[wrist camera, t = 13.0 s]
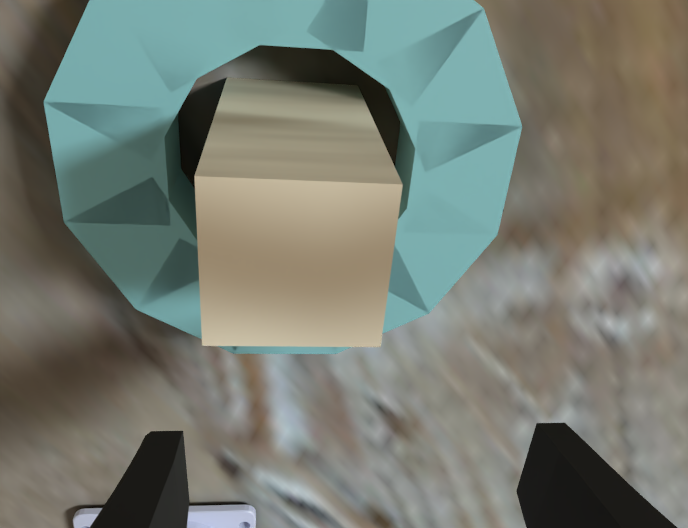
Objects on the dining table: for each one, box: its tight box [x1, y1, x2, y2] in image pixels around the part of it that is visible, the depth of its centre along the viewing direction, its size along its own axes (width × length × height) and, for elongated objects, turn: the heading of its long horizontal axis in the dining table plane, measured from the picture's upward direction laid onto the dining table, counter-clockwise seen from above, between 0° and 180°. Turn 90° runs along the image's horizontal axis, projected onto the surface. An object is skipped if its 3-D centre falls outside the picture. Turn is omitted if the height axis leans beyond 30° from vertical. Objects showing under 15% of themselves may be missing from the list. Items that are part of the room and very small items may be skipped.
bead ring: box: [43, 0, 522, 354], centre depth 18 cm, size 13×13×2 cm
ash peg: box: [194, 78, 403, 347], centre depth 16 cm, size 4×4×8 cm
